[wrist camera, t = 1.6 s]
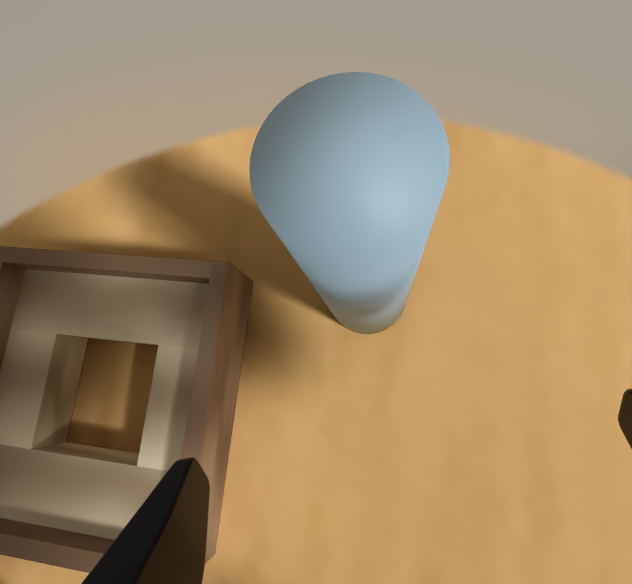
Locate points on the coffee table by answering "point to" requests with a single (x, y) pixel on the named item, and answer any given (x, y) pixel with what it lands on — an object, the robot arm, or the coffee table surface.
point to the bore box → (63, 379)
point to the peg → (353, 189)
